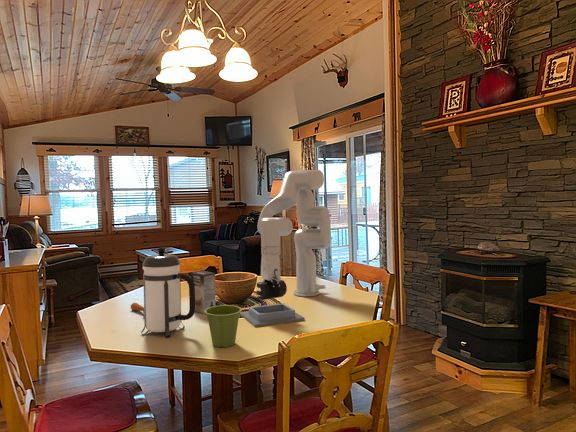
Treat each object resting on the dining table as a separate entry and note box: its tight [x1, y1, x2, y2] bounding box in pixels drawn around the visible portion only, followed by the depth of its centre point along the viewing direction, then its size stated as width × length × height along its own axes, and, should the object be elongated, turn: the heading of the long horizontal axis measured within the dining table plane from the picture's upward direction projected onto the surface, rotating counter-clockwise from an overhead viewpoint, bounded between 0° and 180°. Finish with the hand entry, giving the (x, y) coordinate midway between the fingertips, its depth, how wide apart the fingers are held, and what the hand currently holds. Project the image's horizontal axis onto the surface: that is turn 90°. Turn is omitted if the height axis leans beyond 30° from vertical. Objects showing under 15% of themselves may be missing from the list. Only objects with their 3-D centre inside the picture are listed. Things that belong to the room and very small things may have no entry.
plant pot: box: [205, 304, 243, 348], centre depth 140 cm, size 12×12×11 cm
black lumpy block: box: [256, 279, 288, 301], centre depth 170 cm, size 10×7×7 cm
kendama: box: [130, 302, 144, 314], centre depth 177 cm, size 6×6×20 cm
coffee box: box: [190, 270, 216, 315], centre depth 182 cm, size 9×6×16 cm
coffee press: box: [140, 246, 196, 338], centre depth 153 cm, size 17×16×30 cm
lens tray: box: [240, 303, 306, 328], centre depth 170 cm, size 20×18×4 cm
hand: (271, 294), depth 170 cm, fingers closed on black lumpy block, 8 cm apart
